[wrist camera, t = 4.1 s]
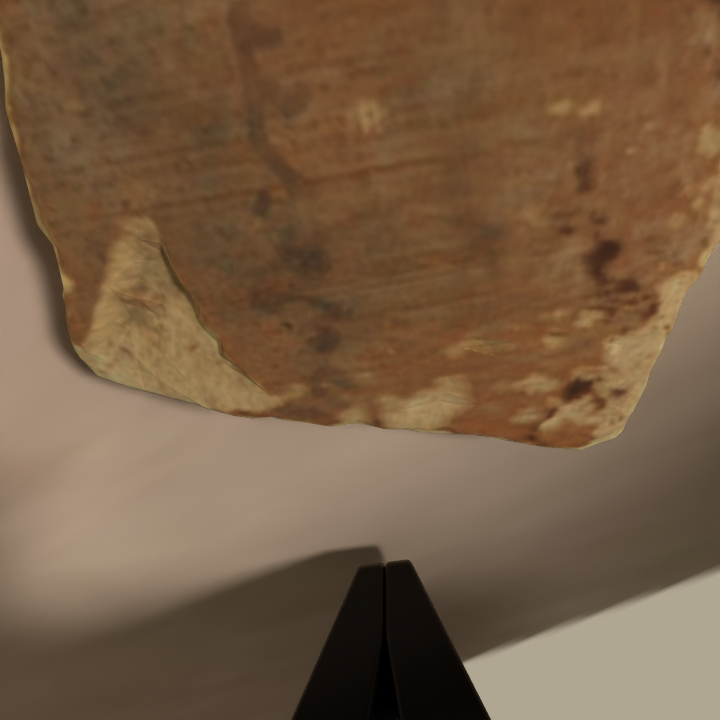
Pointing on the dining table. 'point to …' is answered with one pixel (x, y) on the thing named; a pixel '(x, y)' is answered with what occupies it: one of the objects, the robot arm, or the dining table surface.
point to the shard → (374, 200)
